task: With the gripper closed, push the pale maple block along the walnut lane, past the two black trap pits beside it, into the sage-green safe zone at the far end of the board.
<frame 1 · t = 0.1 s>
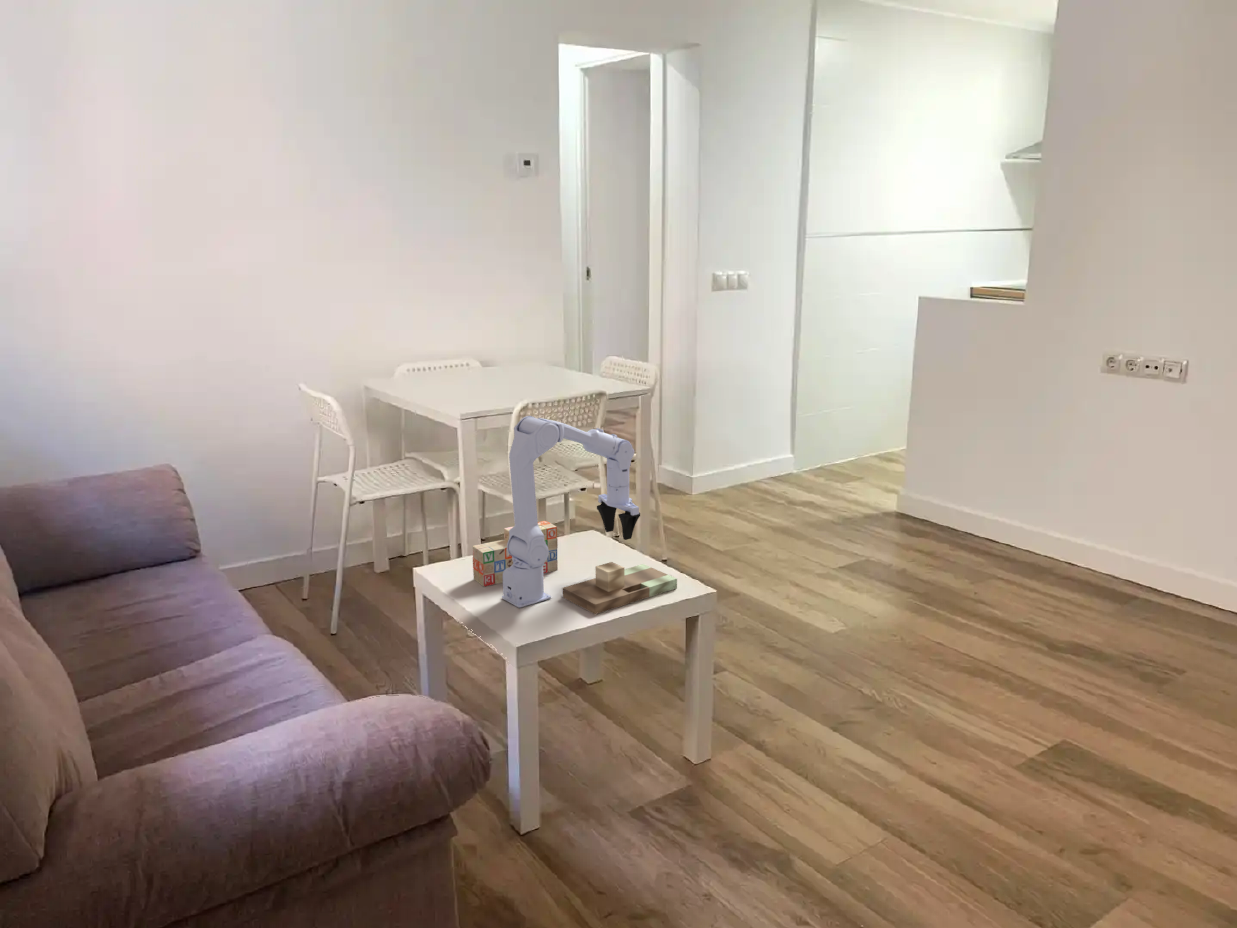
hand: (618, 535, 247), 10 cm above the table, tool pointing down, fingers open, 7 cm apart
maple block: (610, 586, 234), point 2 cm above the table, touching trap board
trap board: (620, 592, 236), on the table
stack of blocks: (516, 575, 248), on the table
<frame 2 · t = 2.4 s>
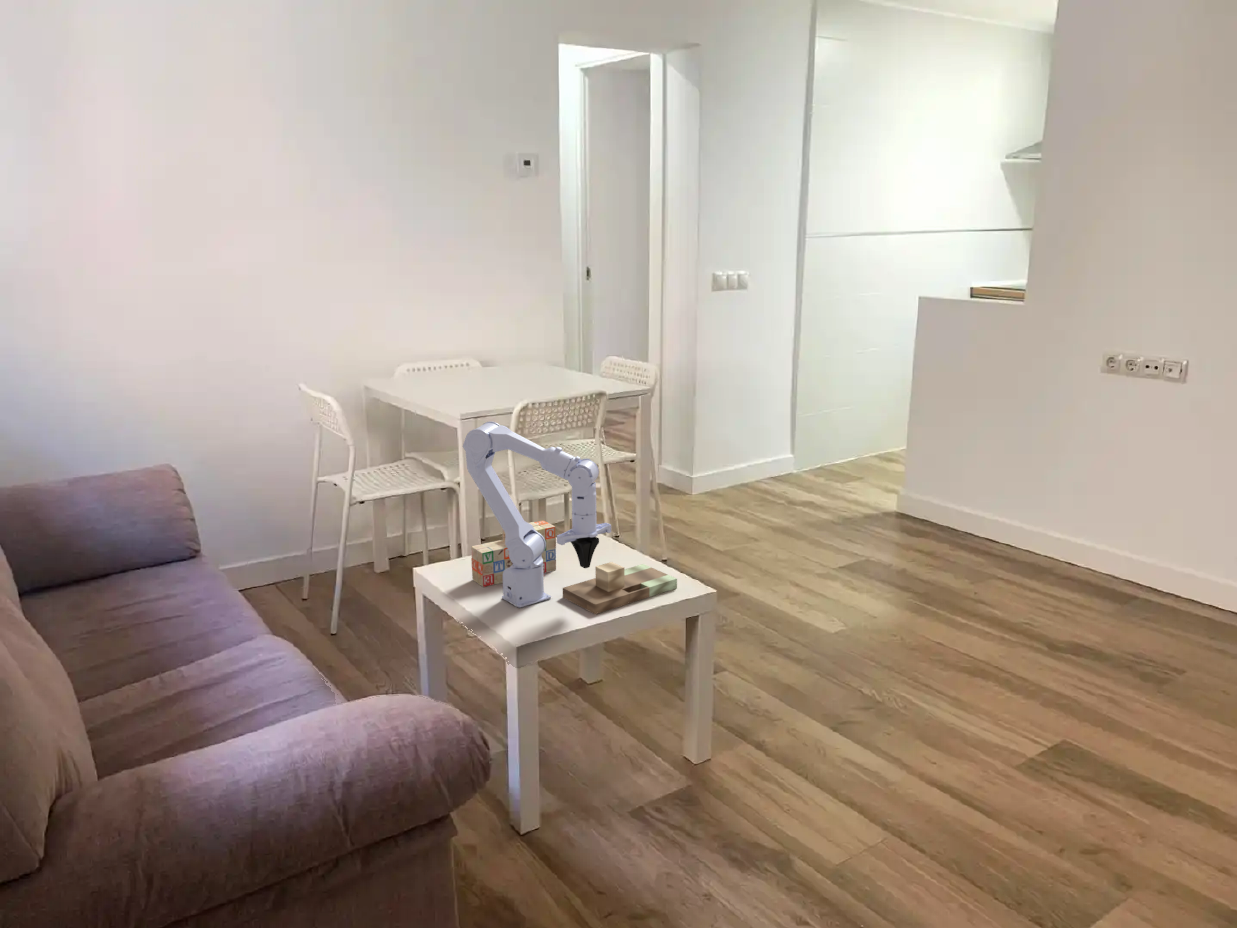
hand: (584, 566, 227), 9 cm above the table, tool pointing down, fingers closed
nothing on the table moved.
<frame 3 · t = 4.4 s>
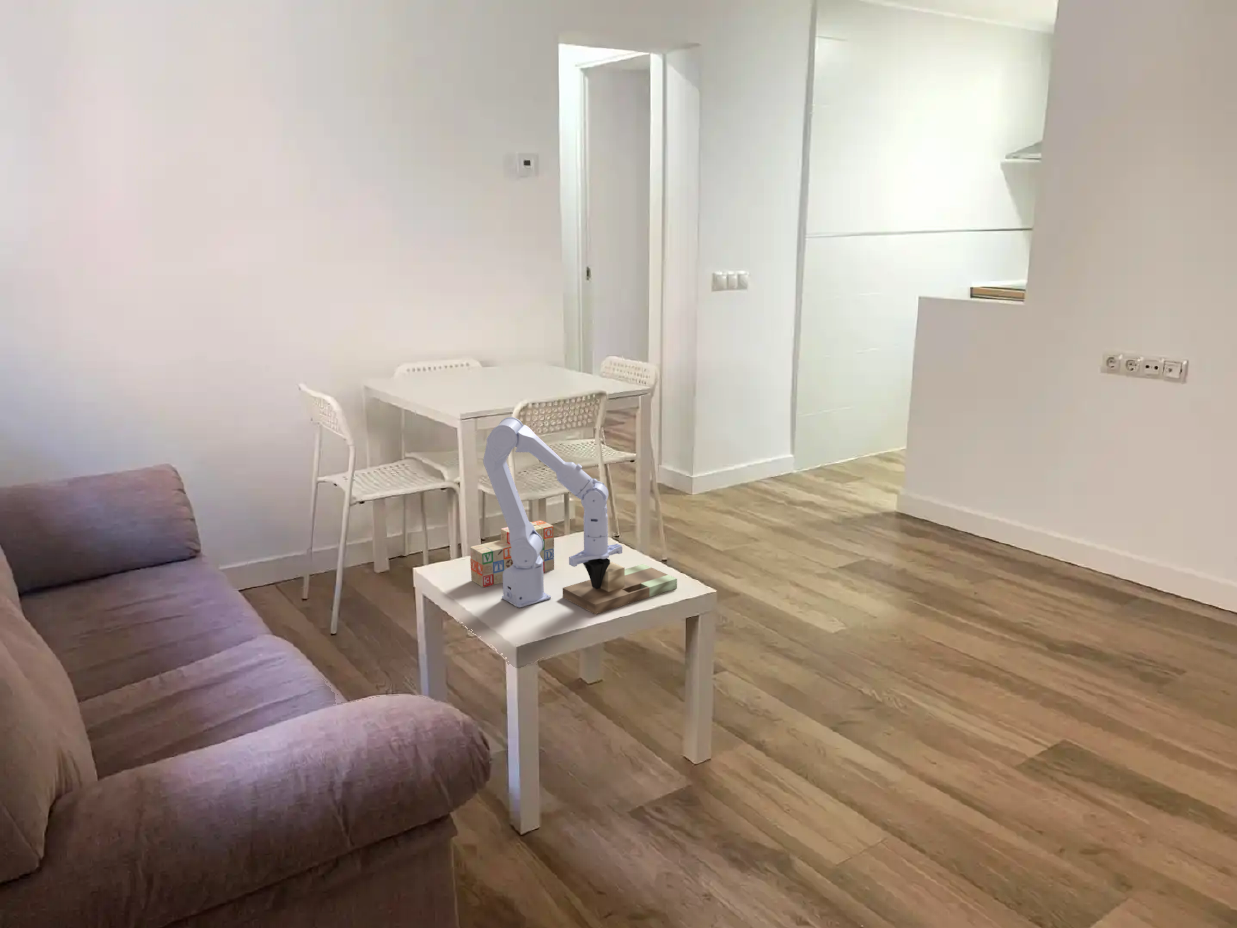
hand: (596, 587, 231), 3 cm above the table, tool pointing down, fingers closed
maple block: (610, 586, 234), point 3 cm above the table, touching gripper
everything else where it was.
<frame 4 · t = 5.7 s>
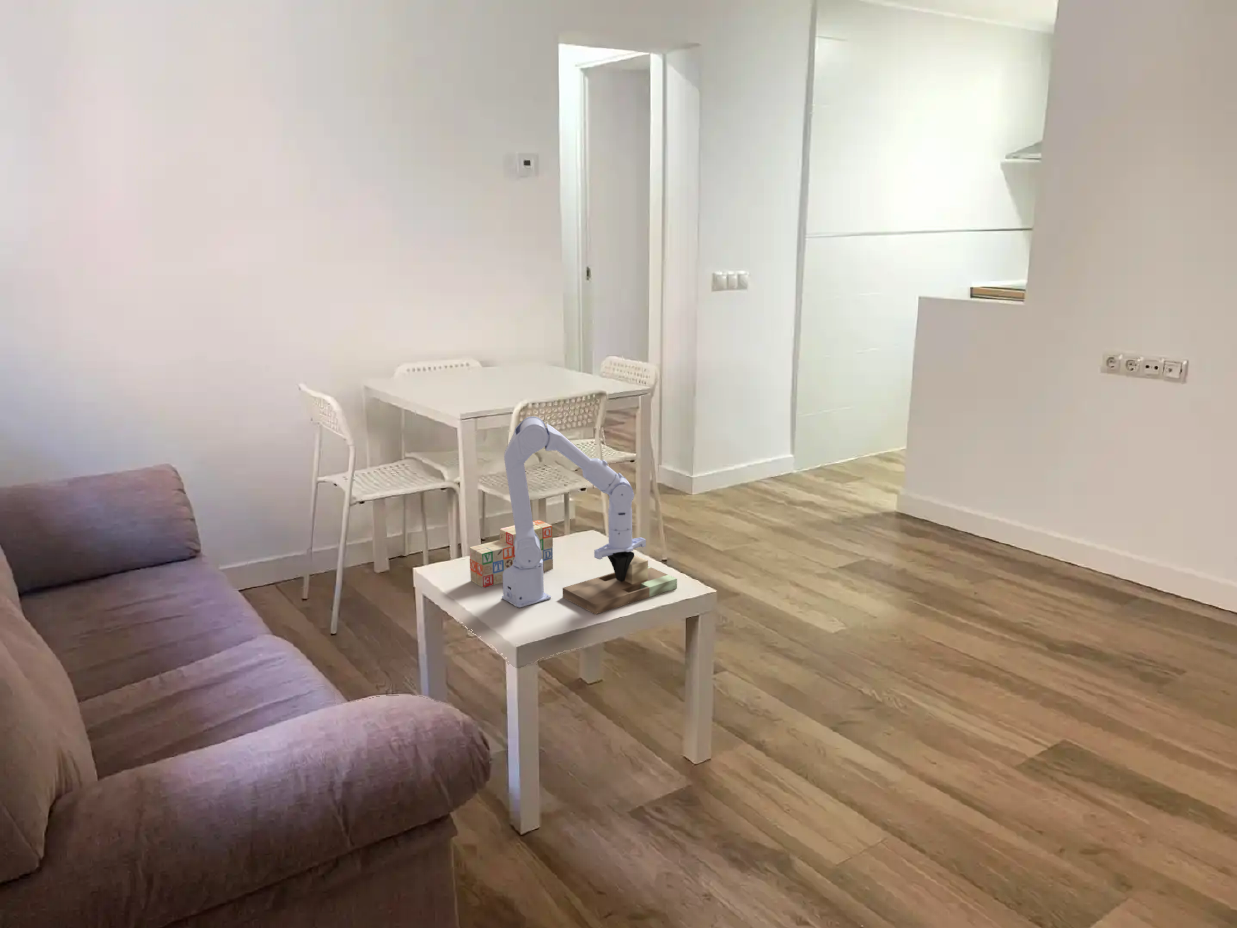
hand: (620, 579, 235), 3 cm above the table, tool pointing down, fingers closed
maple block: (633, 578, 238), point 3 cm above the table, touching gripper, trap board
everything else where it was.
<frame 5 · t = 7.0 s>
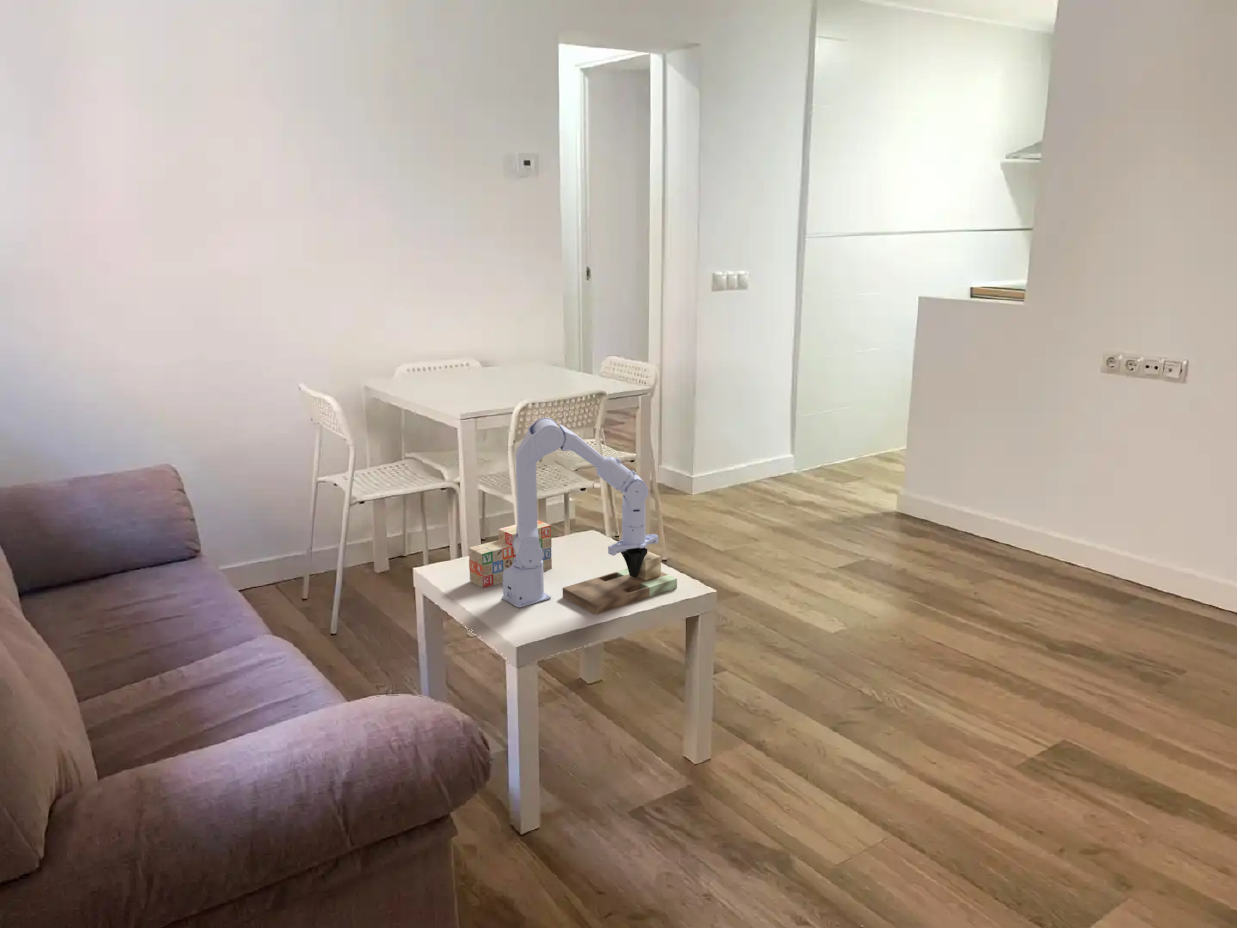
hand: (633, 575, 238), 3 cm above the table, tool pointing down, fingers closed
maple block: (646, 574, 241), point 2 cm above the table, touching gripper, trap board
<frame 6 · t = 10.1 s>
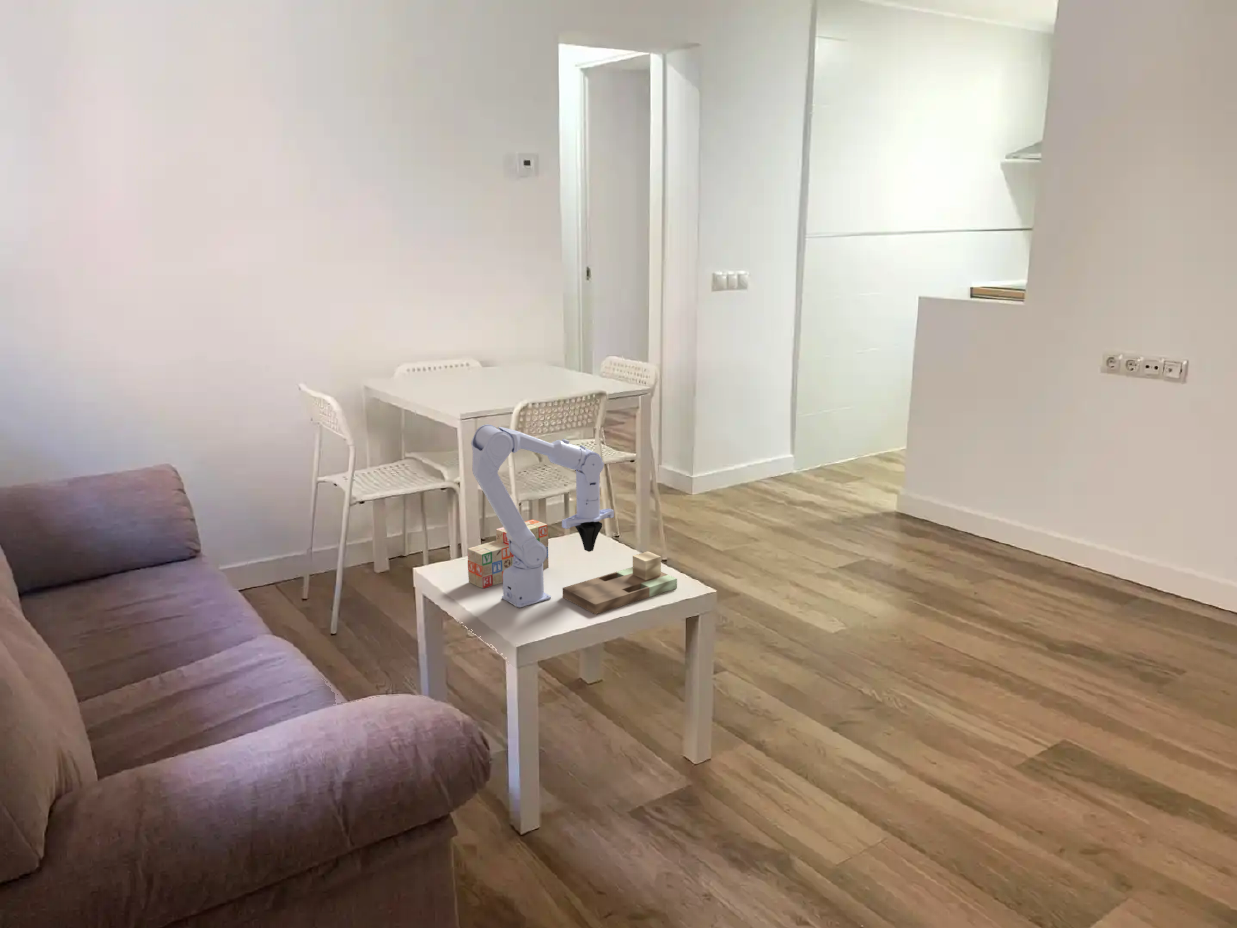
hand: (588, 550, 238), 9 cm above the table, tool pointing down, fingers closed
maple block: (646, 574, 241), point 2 cm above the table, touching trap board
at the end: maple block 0.2 cm from the target spot, point 2.5 cm above the table; maple block tilted 0° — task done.
